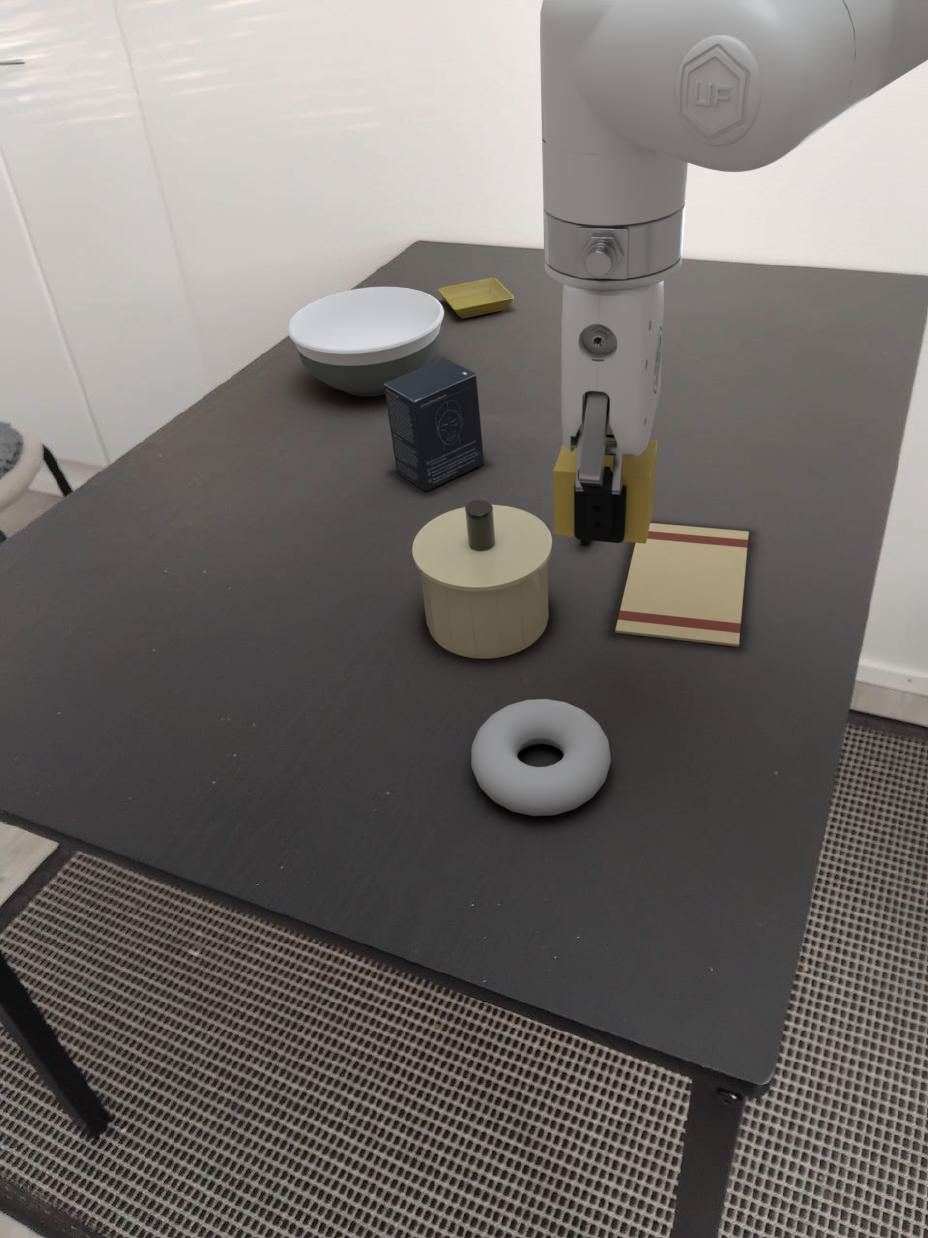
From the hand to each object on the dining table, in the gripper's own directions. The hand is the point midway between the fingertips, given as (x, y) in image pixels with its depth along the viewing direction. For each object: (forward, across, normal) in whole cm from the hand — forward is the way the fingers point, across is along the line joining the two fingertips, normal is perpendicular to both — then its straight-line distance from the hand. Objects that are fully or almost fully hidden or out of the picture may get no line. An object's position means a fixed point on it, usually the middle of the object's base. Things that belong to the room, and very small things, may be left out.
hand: (605, 513), depth 65 cm
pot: (+17, +8, +11) cm, 22 cm away
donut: (+17, -8, +3) cm, 20 cm away
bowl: (+18, +50, +36) cm, 64 cm away
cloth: (+17, +16, -5) cm, 24 cm away
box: (+18, +31, +22) cm, 42 cm away
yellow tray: (+18, +73, +29) cm, 80 cm away
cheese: (+1, 0, 0) cm, 1 cm away
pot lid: (+10, +8, +11) cm, 17 cm away
